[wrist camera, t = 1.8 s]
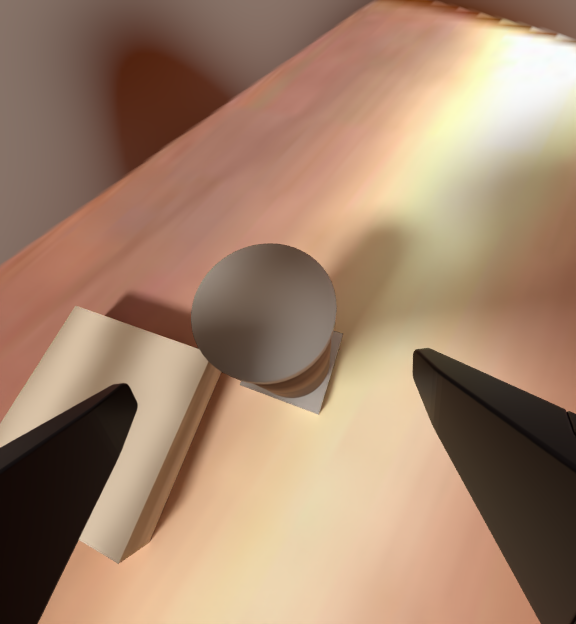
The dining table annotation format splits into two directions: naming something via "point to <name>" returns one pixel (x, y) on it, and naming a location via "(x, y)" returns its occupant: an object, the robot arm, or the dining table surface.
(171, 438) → the birch block
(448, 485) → the dining table surface
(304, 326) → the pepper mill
